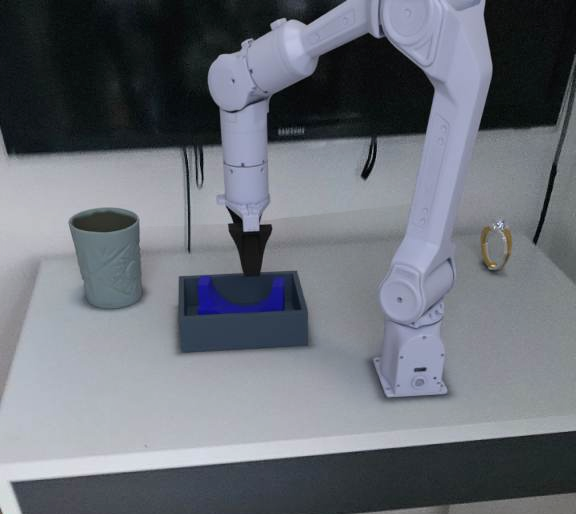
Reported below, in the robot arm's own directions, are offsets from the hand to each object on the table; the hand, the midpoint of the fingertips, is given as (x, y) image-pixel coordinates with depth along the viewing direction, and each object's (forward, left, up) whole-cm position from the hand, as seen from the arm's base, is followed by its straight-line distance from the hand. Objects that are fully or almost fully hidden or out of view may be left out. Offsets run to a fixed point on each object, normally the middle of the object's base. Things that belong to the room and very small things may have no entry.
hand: (249, 263), depth 106 cm
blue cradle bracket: (0, +1, -9) cm, 9 cm away
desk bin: (0, +2, -9) cm, 9 cm away
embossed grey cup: (+12, +21, -9) cm, 25 cm away
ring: (+15, -40, -9) cm, 44 cm away
